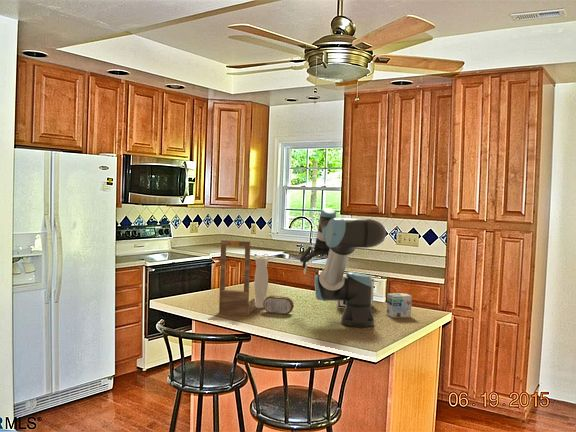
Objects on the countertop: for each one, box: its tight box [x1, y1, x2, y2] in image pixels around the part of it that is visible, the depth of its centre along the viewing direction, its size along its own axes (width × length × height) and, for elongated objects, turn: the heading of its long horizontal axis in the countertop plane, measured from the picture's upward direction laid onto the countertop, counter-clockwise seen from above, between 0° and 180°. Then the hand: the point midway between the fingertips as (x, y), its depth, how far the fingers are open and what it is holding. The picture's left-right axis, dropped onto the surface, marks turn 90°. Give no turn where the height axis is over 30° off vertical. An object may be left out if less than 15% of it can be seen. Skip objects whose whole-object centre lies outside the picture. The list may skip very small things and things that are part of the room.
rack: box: [218, 239, 256, 317], centre depth 270 cm, size 15×14×36 cm
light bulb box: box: [385, 292, 413, 318], centre depth 273 cm, size 11×7×11 cm, turn 105°
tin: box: [263, 295, 294, 315], centre depth 270 cm, size 15×3×8 cm, turn 74°
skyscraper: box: [253, 253, 270, 310], centre depth 282 cm, size 8×8×28 cm
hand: (317, 274), depth 281 cm, fingers open, 13 cm apart
